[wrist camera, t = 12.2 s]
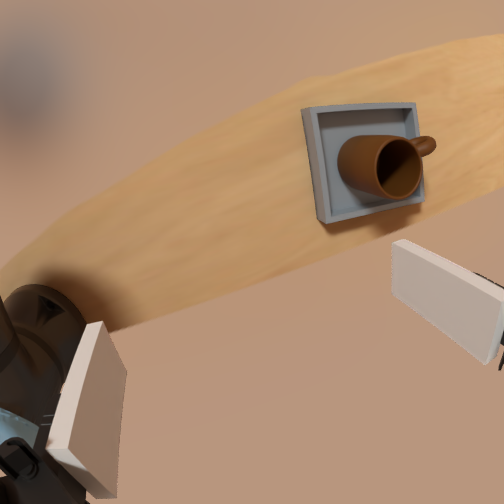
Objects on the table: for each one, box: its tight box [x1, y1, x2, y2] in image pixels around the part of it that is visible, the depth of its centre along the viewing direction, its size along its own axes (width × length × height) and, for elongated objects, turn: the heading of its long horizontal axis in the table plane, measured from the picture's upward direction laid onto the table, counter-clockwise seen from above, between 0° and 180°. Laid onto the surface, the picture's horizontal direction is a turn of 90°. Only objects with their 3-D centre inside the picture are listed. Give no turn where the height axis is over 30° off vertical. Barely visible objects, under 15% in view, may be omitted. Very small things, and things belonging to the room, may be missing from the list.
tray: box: [301, 103, 425, 224], centre depth 40 cm, size 17×15×3 cm
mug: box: [337, 135, 436, 200], centre depth 37 cm, size 12×8×9 cm, turn 120°
